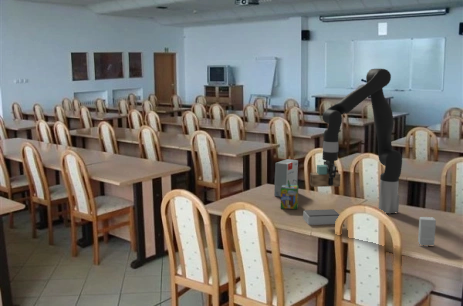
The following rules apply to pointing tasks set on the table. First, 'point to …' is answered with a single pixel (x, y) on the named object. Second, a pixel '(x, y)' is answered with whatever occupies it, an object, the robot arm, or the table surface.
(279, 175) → the hard drive box
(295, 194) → the chalk box
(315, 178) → the brown wooden block
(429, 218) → the skincare box
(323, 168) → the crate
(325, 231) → the table surface
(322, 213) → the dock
